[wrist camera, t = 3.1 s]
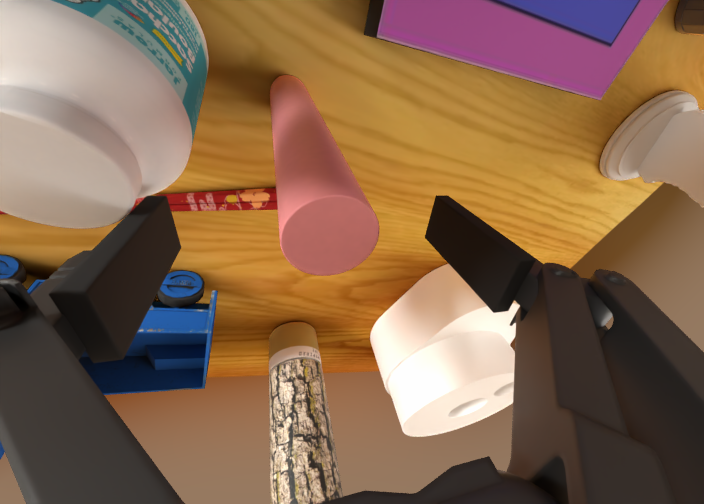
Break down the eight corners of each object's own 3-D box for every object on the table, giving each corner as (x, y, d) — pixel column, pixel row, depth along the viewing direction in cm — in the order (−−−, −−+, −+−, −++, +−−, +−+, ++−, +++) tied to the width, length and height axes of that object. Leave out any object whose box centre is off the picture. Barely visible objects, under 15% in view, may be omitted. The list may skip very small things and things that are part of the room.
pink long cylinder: (268, 72, 20) (278, 195, 6) (308, 76, 20) (389, 195, 7) (271, 114, 21) (281, 279, 8) (307, 117, 22) (370, 272, 9)
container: (521, 264, 43) (599, 342, 33) (443, 353, 57) (481, 426, 47) (413, 254, 36) (471, 350, 25) (355, 359, 50) (377, 446, 40)
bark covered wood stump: (283, 314, 37) (302, 609, 19) (324, 325, 41) (373, 579, 23) (259, 342, 40) (255, 623, 21) (300, 349, 44) (326, 594, 25)
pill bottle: (223, 7, 16) (203, 137, 9) (196, 116, 21) (167, 264, 13) (40, -111, 12) (-312, -58, 4) (56, 58, 16) (-107, 227, 9)
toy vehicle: (220, 271, 30) (202, 379, 21) (213, 336, 37) (196, 439, 28) (-158, 238, 20) (-490, 416, 11) (-74, 335, 27) (-241, 496, 18)
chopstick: (-46, 199, 20) (-56, 207, 19) (289, 186, 25) (289, 192, 25) (-22, 220, 22) (-31, 228, 21) (290, 203, 27) (291, 209, 26)
